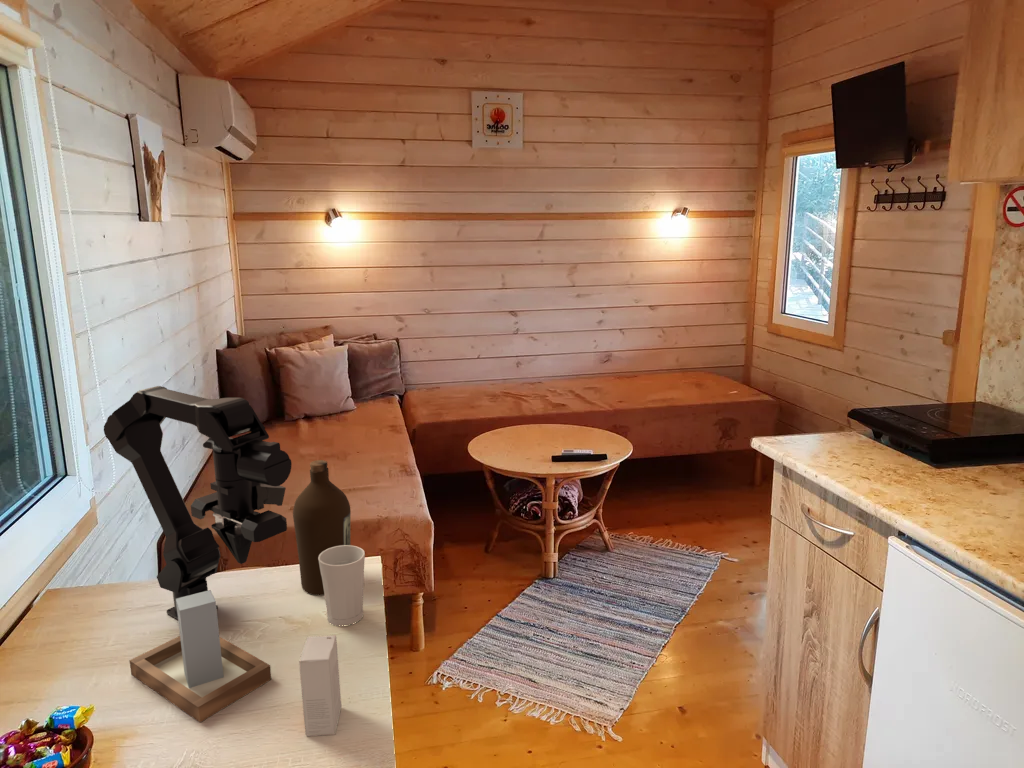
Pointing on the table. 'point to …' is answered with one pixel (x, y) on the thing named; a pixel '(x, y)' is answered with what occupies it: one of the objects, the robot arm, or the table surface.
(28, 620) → the table surface
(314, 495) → the olive oil
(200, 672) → the tall grey pillar block
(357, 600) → the cup
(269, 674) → the wooden frame
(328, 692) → the skincare box
